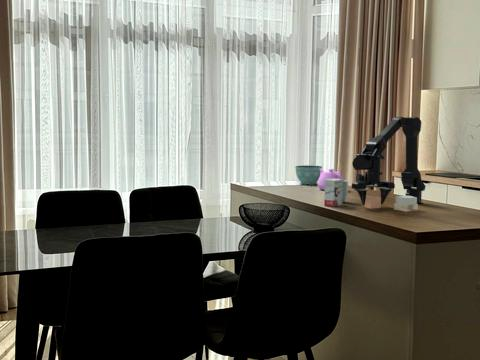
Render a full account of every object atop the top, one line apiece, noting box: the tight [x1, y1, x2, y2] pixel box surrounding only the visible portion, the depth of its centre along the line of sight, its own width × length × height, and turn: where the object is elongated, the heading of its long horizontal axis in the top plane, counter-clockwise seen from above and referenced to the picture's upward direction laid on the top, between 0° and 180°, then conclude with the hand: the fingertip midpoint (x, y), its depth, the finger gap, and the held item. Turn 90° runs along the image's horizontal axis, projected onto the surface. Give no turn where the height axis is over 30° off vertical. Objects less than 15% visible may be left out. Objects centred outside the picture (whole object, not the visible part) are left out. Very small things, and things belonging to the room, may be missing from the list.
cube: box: [363, 194, 382, 209], centre depth 246 cm, size 5×5×5 cm
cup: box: [342, 179, 349, 203], centre depth 261 cm, size 8×8×10 cm
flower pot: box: [294, 165, 323, 186], centre depth 338 cm, size 16×16×11 cm
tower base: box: [393, 202, 419, 213], centre depth 240 cm, size 7×7×3 cm
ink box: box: [323, 178, 344, 208], centre depth 250 cm, size 9×5×12 cm, turn 143°
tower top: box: [395, 195, 417, 205], centre depth 240 cm, size 6×6×3 cm
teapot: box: [317, 168, 344, 191], centre depth 309 cm, size 20×13×12 cm, turn 27°
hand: (372, 204), depth 246 cm, fingers open, 9 cm apart
